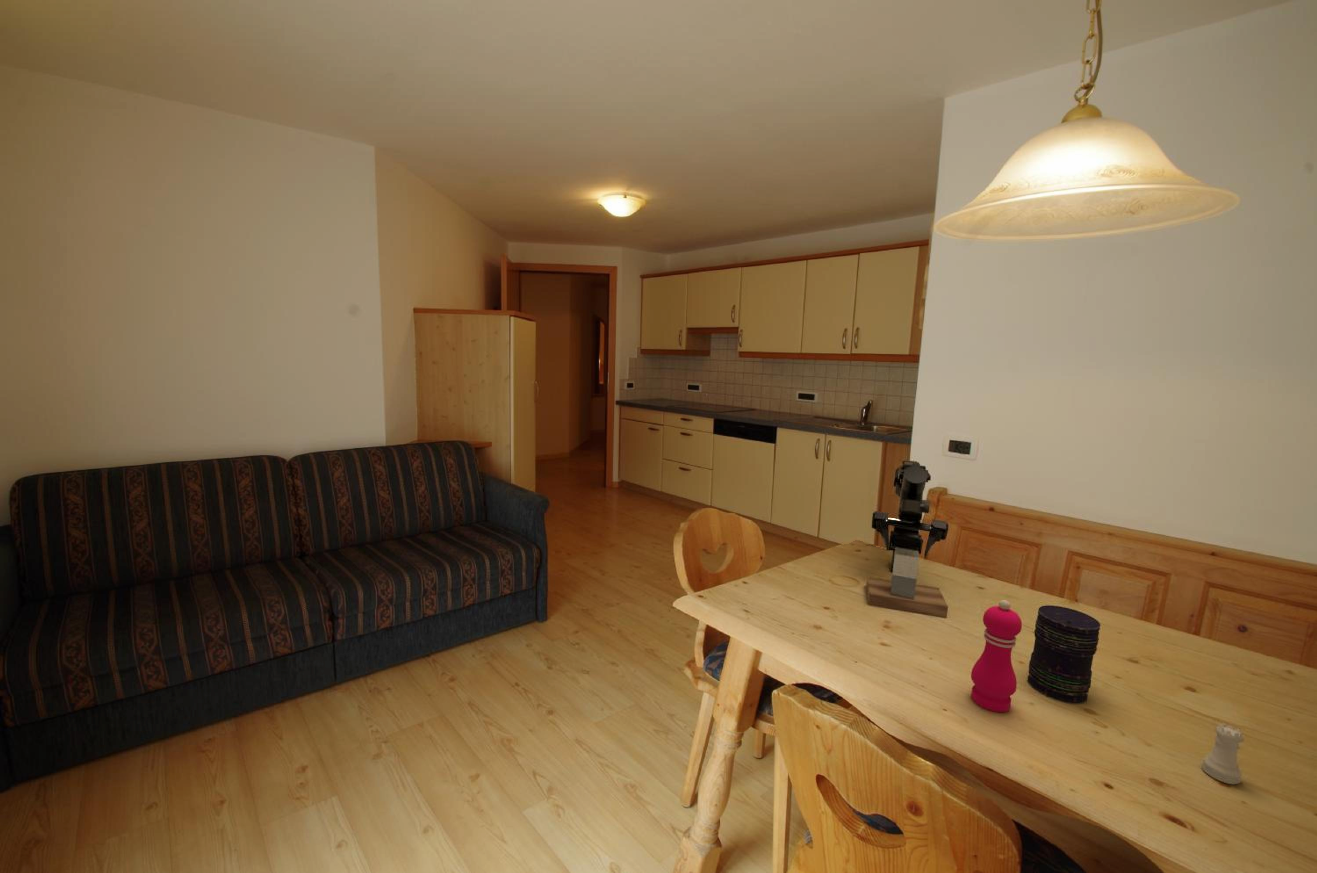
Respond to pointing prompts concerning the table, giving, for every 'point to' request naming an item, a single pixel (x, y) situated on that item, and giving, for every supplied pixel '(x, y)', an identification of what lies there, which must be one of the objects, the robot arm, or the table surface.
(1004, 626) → the pepper mill
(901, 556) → the block
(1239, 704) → the table surface
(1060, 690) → the dark ridged cylinder
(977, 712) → the table surface
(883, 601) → the stand
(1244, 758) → the table surface
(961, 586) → the table surface
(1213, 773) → the rook chess piece
